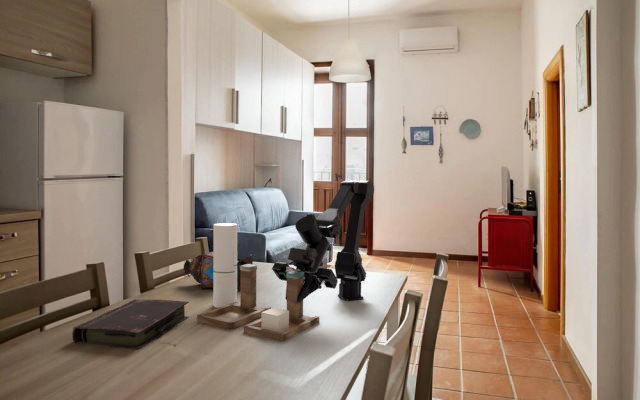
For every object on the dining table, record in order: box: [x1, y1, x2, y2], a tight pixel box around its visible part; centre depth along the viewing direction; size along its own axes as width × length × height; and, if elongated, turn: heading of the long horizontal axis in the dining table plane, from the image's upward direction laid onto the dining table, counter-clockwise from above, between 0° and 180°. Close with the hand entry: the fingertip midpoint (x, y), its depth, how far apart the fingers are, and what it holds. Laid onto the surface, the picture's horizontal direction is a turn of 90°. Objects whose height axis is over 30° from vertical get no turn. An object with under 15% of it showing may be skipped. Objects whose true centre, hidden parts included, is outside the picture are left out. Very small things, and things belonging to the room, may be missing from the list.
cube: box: [260, 307, 289, 333], centre depth 122 cm, size 5×5×5 cm
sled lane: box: [243, 271, 320, 343], centre depth 125 cm, size 17×12×14 cm
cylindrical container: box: [212, 222, 238, 309], centre depth 147 cm, size 7×7×25 cm
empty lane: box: [196, 264, 272, 330], centre depth 133 cm, size 17×12×14 cm
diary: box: [72, 298, 190, 350], centre depth 125 cm, size 19×25×5 cm
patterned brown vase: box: [183, 251, 254, 292], centre depth 171 cm, size 16×16×25 cm
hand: (292, 300), depth 128 cm, fingers closed on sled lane, 3 cm apart
